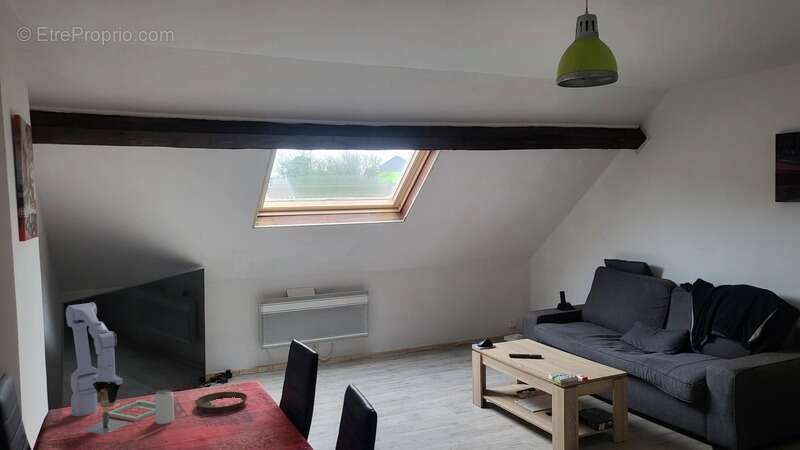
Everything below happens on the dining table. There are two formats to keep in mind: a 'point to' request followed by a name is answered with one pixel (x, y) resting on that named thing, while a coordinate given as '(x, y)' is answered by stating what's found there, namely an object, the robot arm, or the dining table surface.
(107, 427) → the square base plate
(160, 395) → the can
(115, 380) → the robot arm
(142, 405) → the tray
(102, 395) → the sleeve
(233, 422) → the dining table surface
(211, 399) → the plant saucer
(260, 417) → the dining table surface
